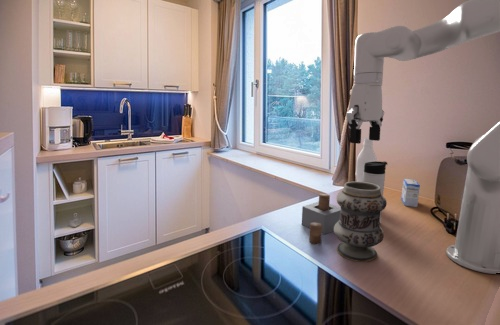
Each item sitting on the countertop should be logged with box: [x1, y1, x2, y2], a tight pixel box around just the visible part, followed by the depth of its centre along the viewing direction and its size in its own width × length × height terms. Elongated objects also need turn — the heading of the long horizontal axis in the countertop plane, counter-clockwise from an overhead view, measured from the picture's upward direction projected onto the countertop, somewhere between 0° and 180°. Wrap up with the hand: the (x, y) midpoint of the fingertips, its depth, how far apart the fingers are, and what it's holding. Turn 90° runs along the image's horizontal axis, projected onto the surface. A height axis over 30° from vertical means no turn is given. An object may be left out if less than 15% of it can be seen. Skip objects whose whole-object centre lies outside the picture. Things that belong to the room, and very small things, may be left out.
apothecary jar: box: [333, 181, 387, 263], centre depth 76 cm, size 12×12×18 cm
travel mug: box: [363, 160, 388, 221], centre depth 95 cm, size 6×7×20 cm
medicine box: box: [400, 178, 421, 208], centre depth 114 cm, size 8×4×9 cm, turn 162°
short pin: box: [308, 223, 323, 245], centre depth 83 cm, size 3×3×5 cm
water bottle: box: [354, 137, 378, 182], centre depth 112 cm, size 7×7×25 cm
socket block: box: [301, 201, 341, 235], centre depth 93 cm, size 9×9×6 cm
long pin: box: [318, 193, 331, 211], centre depth 93 cm, size 3×3×10 cm
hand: (364, 141), depth 87 cm, fingers open, 9 cm apart
